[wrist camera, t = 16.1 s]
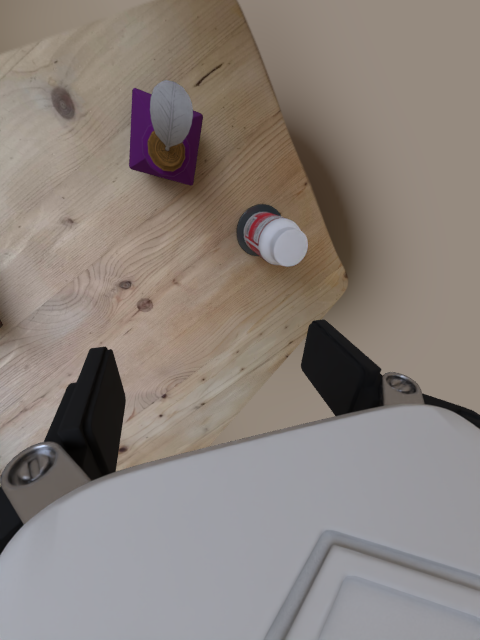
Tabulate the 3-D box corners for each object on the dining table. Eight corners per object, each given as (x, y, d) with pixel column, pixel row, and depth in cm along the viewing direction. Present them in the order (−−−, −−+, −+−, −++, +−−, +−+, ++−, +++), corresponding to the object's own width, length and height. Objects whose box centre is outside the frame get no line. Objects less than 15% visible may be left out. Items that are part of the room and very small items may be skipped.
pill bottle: (279, 246, 42) (313, 266, 33) (245, 254, 41) (270, 277, 32) (276, 206, 39) (313, 217, 29) (239, 215, 38) (265, 228, 29)
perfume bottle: (190, 185, 34) (214, 193, 19) (131, 169, 32) (107, 163, 17) (199, 119, 31) (237, 68, 16) (135, 95, 28) (108, 7, 13)
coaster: (237, 203, 37) (237, 204, 37) (285, 204, 39) (286, 204, 39) (235, 256, 41) (236, 257, 41) (280, 254, 43) (280, 255, 43)
